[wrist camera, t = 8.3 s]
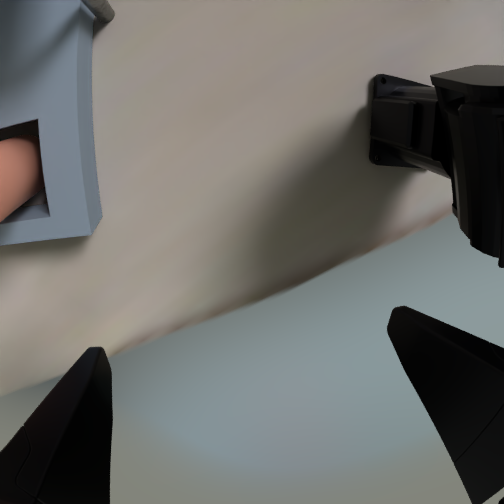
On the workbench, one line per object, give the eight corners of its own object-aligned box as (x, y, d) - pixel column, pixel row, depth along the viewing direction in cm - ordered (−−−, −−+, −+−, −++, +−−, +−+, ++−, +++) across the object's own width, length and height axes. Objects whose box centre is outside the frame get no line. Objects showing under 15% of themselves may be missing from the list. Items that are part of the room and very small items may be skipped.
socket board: (102, -51, 11) (93, -72, 8) (102, 216, 18) (91, 235, 16) (-26, -7, 8) (-48, -16, 6) (-19, 232, 16) (-39, 250, 14)
